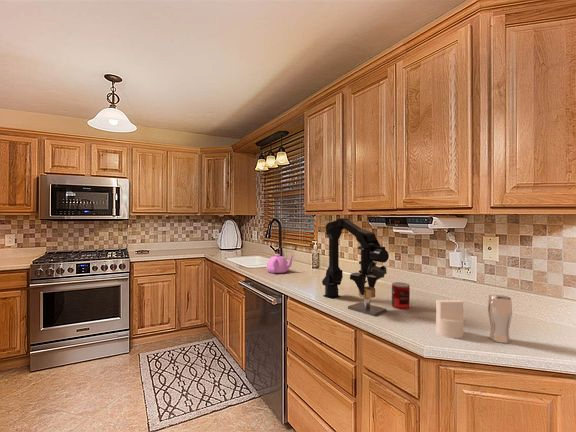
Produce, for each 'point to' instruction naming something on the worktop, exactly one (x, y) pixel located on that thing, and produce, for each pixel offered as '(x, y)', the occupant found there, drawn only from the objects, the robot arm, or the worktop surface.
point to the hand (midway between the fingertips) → (366, 293)
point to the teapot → (278, 264)
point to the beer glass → (500, 317)
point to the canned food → (400, 295)
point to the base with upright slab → (449, 318)
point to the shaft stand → (367, 308)
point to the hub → (368, 292)
